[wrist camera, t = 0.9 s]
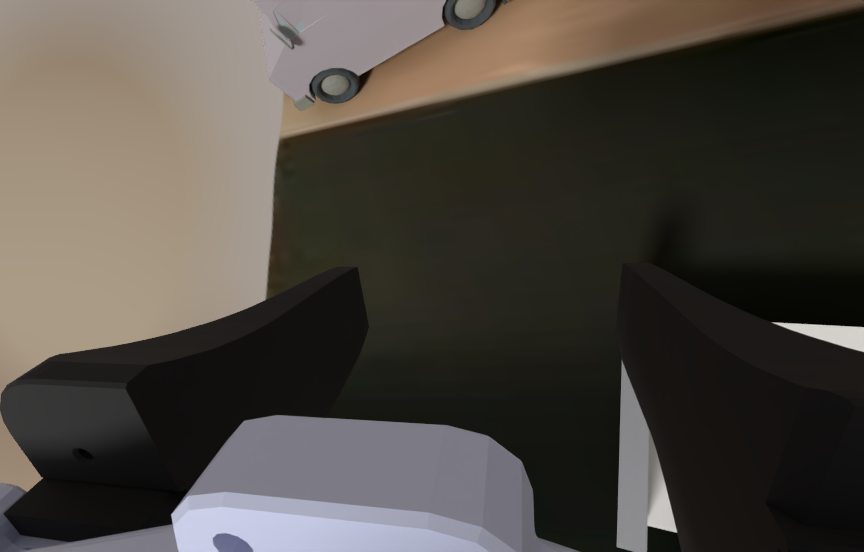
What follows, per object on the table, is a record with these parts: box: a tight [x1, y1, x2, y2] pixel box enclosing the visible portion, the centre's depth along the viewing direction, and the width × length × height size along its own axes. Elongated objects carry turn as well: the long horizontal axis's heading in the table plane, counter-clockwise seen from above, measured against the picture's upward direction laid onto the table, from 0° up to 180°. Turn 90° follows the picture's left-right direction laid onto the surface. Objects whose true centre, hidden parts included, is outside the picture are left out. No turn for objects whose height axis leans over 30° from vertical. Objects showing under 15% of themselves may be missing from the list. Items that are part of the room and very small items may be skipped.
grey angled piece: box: [617, 322, 864, 552], centre depth 17 cm, size 9×10×6 cm
